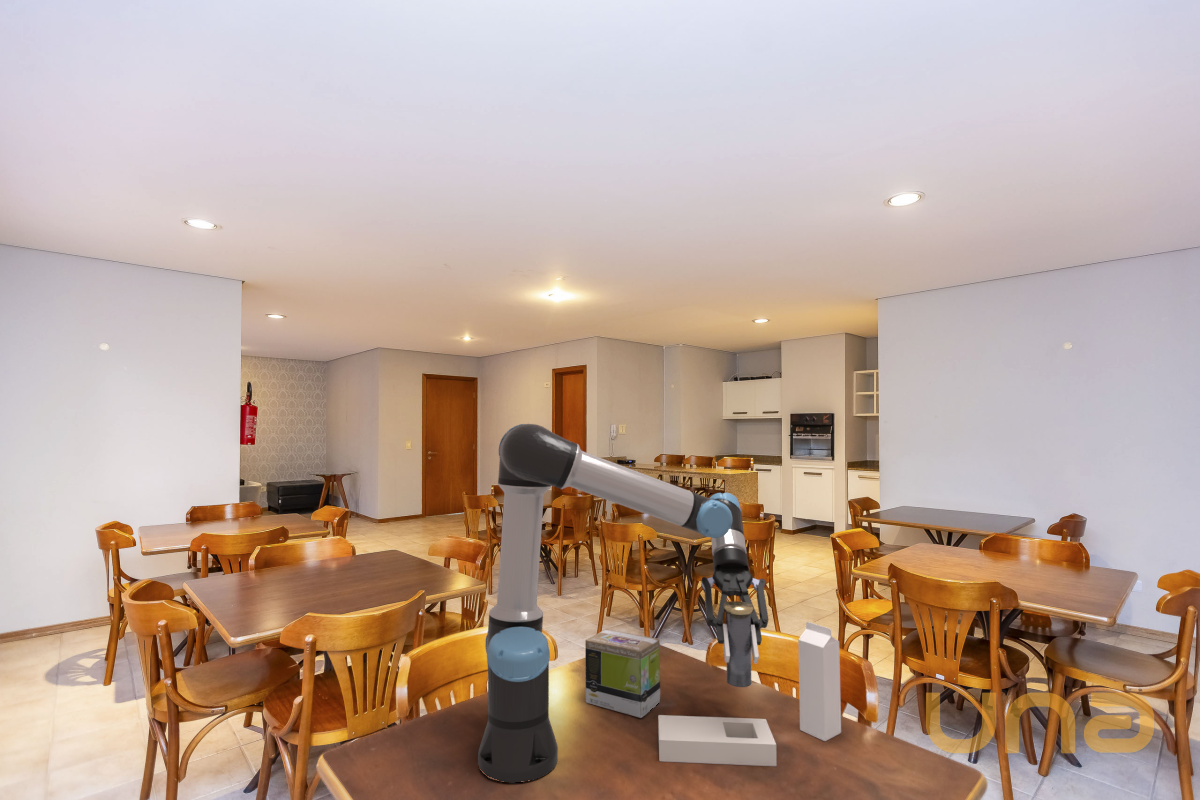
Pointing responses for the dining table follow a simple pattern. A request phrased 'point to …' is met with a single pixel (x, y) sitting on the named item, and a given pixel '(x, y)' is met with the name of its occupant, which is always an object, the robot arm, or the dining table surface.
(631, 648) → the tea box
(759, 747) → the housing block
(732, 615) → the grey capped cylinder
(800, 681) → the milk
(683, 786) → the dining table surface
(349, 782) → the dining table surface
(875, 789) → the dining table surface
